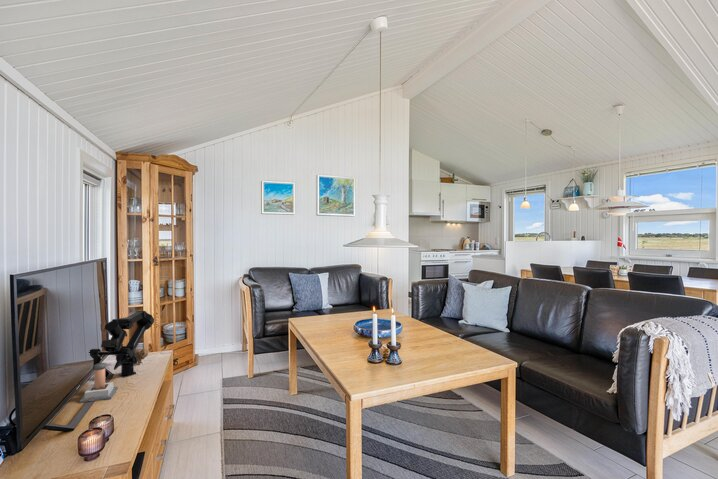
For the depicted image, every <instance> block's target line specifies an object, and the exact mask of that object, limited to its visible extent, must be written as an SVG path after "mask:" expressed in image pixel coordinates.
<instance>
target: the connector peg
mask: <svg viewBox="0 0 718 479" xmlns="http://www.w3.org/2000/svg"><path fill="white" fill-rule="evenodd" d="M93 371H94V374H93V376H94V378H93V380H94V383H93V384H94V390H101V389H105V383H106V362H100V363H98V364H95V365H94V370H93Z"/></svg>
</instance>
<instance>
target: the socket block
mask: <svg viewBox="0 0 718 479" xmlns="http://www.w3.org/2000/svg"><path fill="white" fill-rule="evenodd" d="M114 384H115V383H114V381H112V382H111V381H110V382H105V389H101V390H94V383H93V384H90V385H89V387H88V388H87V389H86V390H85V391H84V395H83V396H82V397H81V399H80V400H79V404H83V403H84V402H85V403H87V402H86V401H87V400H88V399H89V398H91V397H94V398H95V399H94V400H95V401H94V402H100V401H107V400H112V398H113V397H114V395H115V394H116V393H117V390H118V389H119V386H115V385H114Z"/></svg>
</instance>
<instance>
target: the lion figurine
mask: <svg viewBox="0 0 718 479" xmlns="http://www.w3.org/2000/svg"><path fill="white" fill-rule="evenodd" d="M149 353H150V352H149V349H148V348H143V349H140V350H139V351H137V352H136V355H137V356H138V362H137V365H138V366H141V364H143V362H142V361H143V360H144V359H145V358H147V357H148V356H149Z"/></svg>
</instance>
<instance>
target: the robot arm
mask: <svg viewBox="0 0 718 479" xmlns="http://www.w3.org/2000/svg"><path fill="white" fill-rule="evenodd" d="M135 323H136V326H137V327H136V328H135V331H133V334H132V335H131V337H130V339H129V340H128V342H127V344H126V345H124V344H123V342H124V340H125V338H126V337H128V333H127V331H126V330H131V329H132V328H133V327H134V324H135ZM154 323H155V318H154V317H153V315H152V314H150V313H148V311H146V310H136V311H135V312H134V313H132V314H131V315H130V314H129V315H128V316H127V317H120V318H115V319H114V318H113V319H111V320H110V321H108V322H107V323H106V324H105V325H104V330H106V331H107V333H108V335H110V336H111V338H110V339H108V340H106V339H105V340H101V344H100V348H103V351H102V350H101V349H100V348H91V349H89V351H90V352H89V351H88V353H90V355H89V356H90V357H91V358H92V359H93V360H92V361H93V362H92V363H93V365H92V366H93V369H92V370H93V371H94V365H95V364H98V363H101V360H102V358H103V356H115V360H116V362H115V364H114V366H113V370H114V371H115V370H117V369H118V368H119V367H120V366H121V368H120V369H121V372H119V373H118V376H120V377H122V378H127V377H129V376H133V375H136V374H137V372H136V371H135V370H134V369H135V364H138V356H137V355H136V353H137V352H136V349H137V347H138V345H139V344H140V341H141V340H142V338H143V336H144V334H145V333H146V331H147V330H149V329H151V327H152V326H153V324H154Z"/></svg>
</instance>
